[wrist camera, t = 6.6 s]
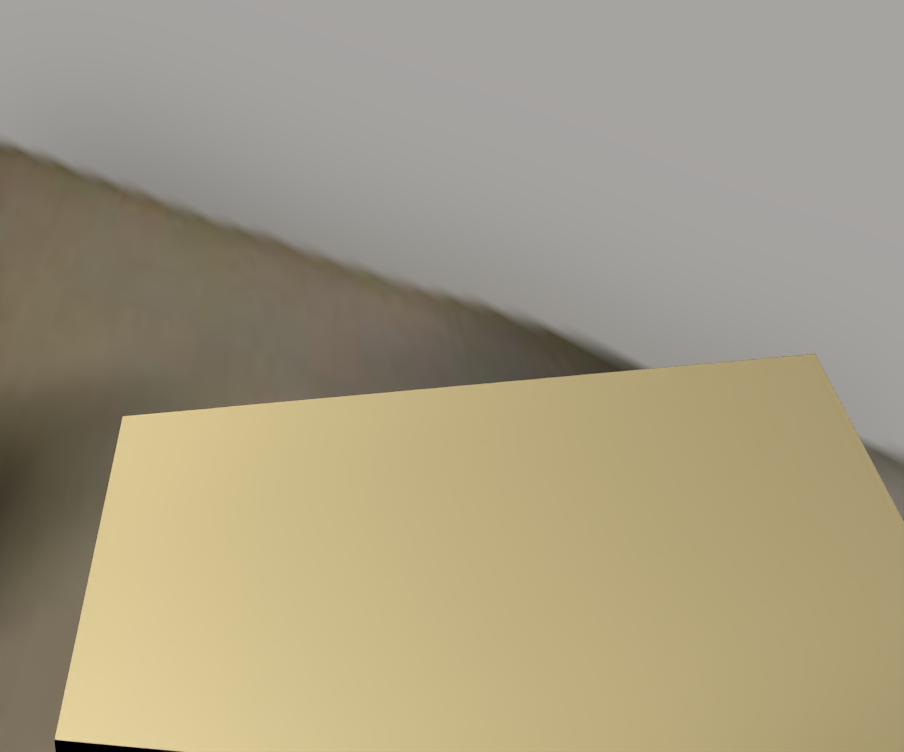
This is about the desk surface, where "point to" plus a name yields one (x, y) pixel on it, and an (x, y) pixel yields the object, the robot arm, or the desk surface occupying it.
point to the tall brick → (499, 573)
